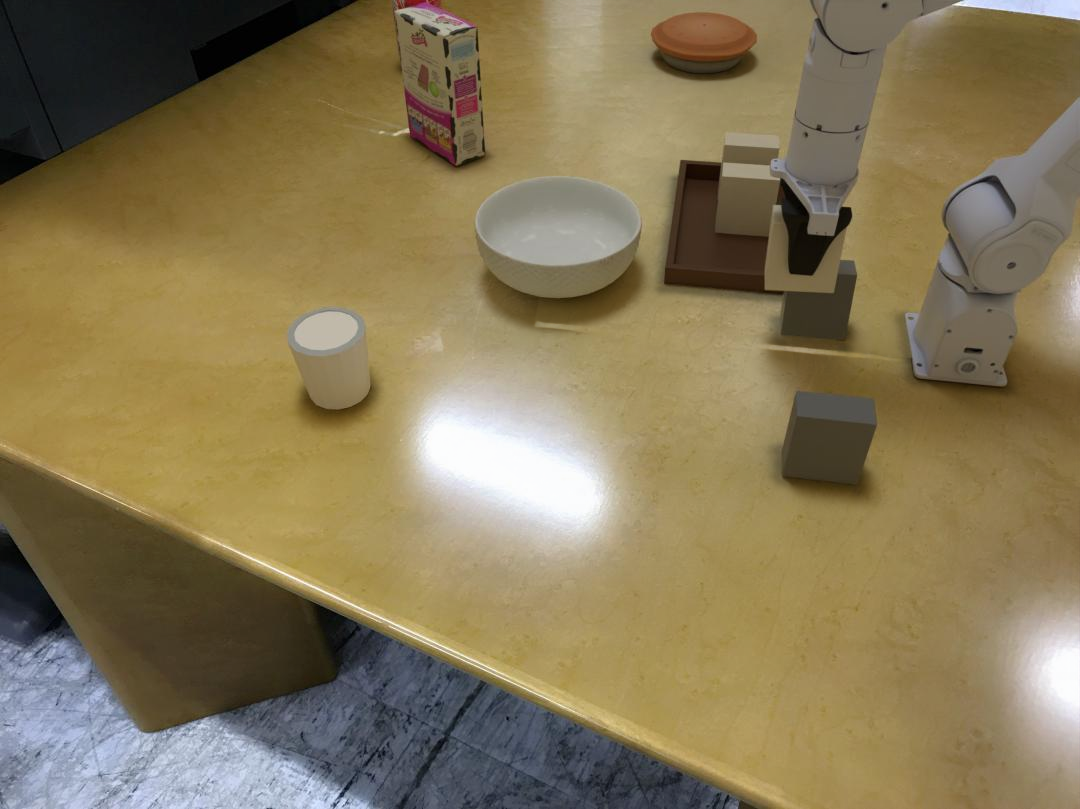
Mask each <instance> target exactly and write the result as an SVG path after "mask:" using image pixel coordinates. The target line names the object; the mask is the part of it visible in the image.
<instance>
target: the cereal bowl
mask: <svg viewBox="0 0 1080 809" xmlns="http://www.w3.org/2000/svg"><path fill="white" fill-rule="evenodd" d="M642 220H643V219H642V215H641V212H640V210H639V209H638V206H637V204H636V203H635V202H634V201H633V200H632V199H631V198H630V197H629V196H628V195H627V194H625V193H624V192H622V191H620V190H619V189H617V188H615V187H613V186H611V185H608V184H606V183H604V182H602V181H601V182H600V181H597V180H595V179H589V178H585V177H578V176H570V175H566V176H565V175H549V176H547V175H546V176H539V177H532V178H527V179H523V180H520V181H516V182H513V183H510V184H508V185H505V186H504V187H501V188H500V189H497V190H496V191H494V192H493V193H492V194H490V195H489V196H487V198H486V199H485V200H483V202H482V203H481V204H480V206H479V207H478V209H477V211H476V213H475V218H474V232H475V240H476V246H477V248H478V252H479V254H480V257H481V258H482V261H483V263H484V264H485V265H486V267H487V269H488V270H489V271H490V272H491V273H492V274H493V275H494V276H495V277H496V278H497V279H498V280H499V281H501V282H502V283H503V284H504V285H507V286H508V287H510V288H512V289H514V290H515V291H519V292H521V293H524V294H528V295H530V296H535V297H540V298H547V299H563V298H565V299H568V298H575V297H581V296H584V295H589V294H592V293H594V292H597V291H599V290H602V289H603V288H606V287H608V285H611V284H613V283H614V282H615V281H616V280H617V279H619V278H620V277H621V276H622V275H624V274H625V272H626V271H627V270H628V268H629V267H630V265H631V264H632V262H633V260H634V259H635V256H636V254H637V251H638V248H639V245H640V240H641V234H642V228H643V221H642Z"/></svg>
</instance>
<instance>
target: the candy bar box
mask: <svg viewBox="0 0 1080 809" xmlns="http://www.w3.org/2000/svg"><path fill="white" fill-rule="evenodd" d="M394 12H395V18H396V26H397V34H398V42H399V51H400V57H399V60H400V59H401V61H400V66H401V74H402V81H403V90H404V98H405V108H406V115H407V122H408V123H407V124H408V131H409V137H410V138H412V139H413V140H415V141H416V142H418V143H419V144H421V145H423V146H424V147H426V148H427V149H429V150H430V151H432V152H434V153H435V154H437V155H438V156H440V157H441V158H443V159H445V160H446V161H448V162H449V163H451V164H452V165H454V166H456V167H458V166H462V165H463V164H466V163H469V162H472V161H475V160H478V159H480V158H483V157H485V156H486V144H485V127H484V126H485V125H484V112H483V95H482V78H481V64H480V63H481V61H480V46H479V31H478V28H479V26H478V25H477V24H473V23H471V22H469V21H467V20H465V19H463V18H460V17H459V16H456V15H454V14H452V13H450V12H449V11H446V10H444V9H443V8H442V9H439V8H437V7H435V6H433V5H431V4H429V3H427V2H425V3H421V4H417V5H413V6H410V7H406V8H403V9H399V10H396V11H394Z"/></svg>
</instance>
